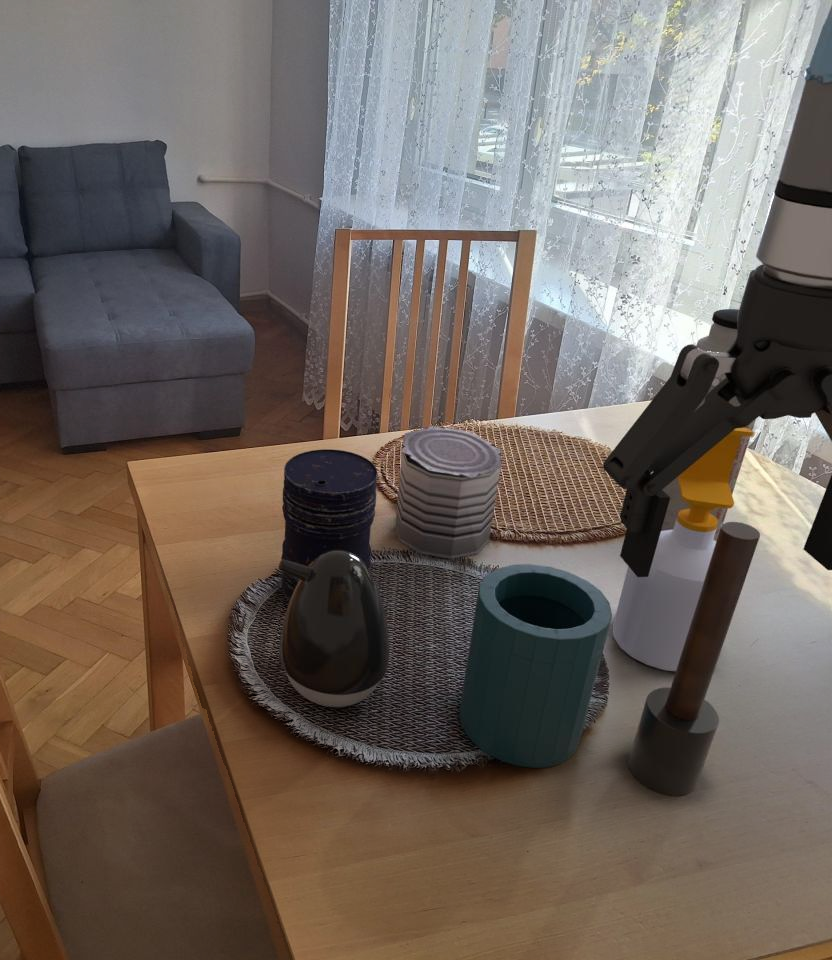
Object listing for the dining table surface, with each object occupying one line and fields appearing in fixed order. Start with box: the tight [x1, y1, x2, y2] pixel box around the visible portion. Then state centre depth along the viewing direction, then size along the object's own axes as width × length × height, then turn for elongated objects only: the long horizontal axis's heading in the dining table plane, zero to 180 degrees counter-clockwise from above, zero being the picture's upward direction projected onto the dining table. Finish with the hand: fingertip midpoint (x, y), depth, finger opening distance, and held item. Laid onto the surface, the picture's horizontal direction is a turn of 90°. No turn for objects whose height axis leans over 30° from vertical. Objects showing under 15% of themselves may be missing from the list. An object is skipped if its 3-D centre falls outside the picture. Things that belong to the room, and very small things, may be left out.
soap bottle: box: [612, 428, 755, 672], centre depth 80 cm, size 9×9×25 cm
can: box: [394, 425, 502, 560], centre depth 103 cm, size 11×11×12 cm
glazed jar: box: [459, 563, 613, 769], centre depth 74 cm, size 10×10×14 cm
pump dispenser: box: [278, 549, 390, 708], centre depth 79 cm, size 10×10×15 cm
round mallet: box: [627, 521, 761, 797], centre depth 66 cm, size 5×5×24 cm
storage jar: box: [280, 448, 378, 602], centre depth 93 cm, size 10×10×15 cm
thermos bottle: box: [661, 308, 757, 541], centre depth 95 cm, size 8×8×28 cm
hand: (726, 563), depth 62 cm, fingers open, 13 cm apart
